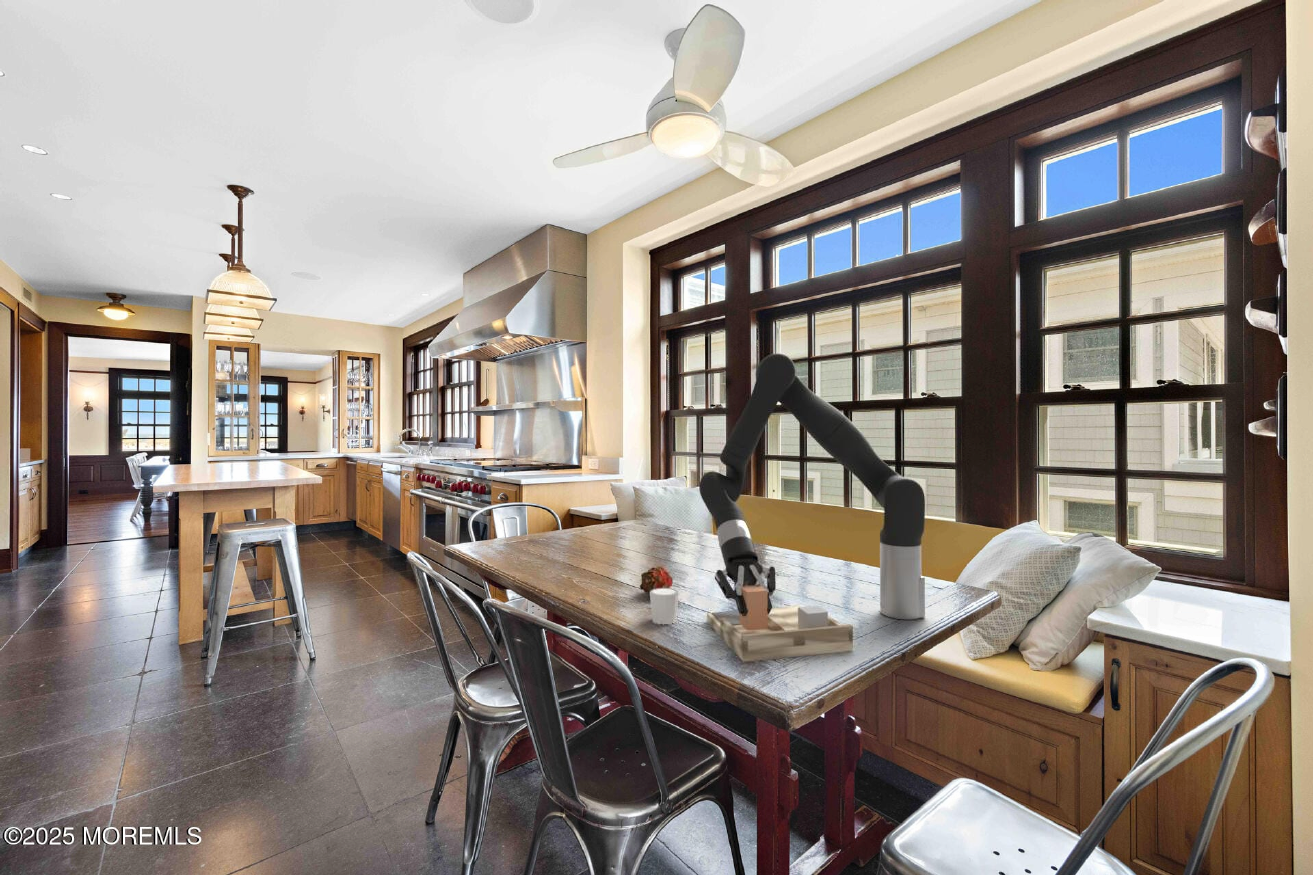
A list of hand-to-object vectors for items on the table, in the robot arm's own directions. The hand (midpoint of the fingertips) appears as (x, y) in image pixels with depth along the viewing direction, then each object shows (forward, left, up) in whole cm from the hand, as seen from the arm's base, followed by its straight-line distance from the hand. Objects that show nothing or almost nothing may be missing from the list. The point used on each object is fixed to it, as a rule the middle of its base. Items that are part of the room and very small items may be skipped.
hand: (756, 613), depth 120 cm
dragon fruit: (+23, -36, -7) cm, 43 cm away
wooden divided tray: (-5, -6, -7) cm, 10 cm away
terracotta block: (0, -2, -3) cm, 4 cm away
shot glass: (+20, -15, -7) cm, 26 cm away
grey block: (-12, -2, -5) cm, 13 cm away
